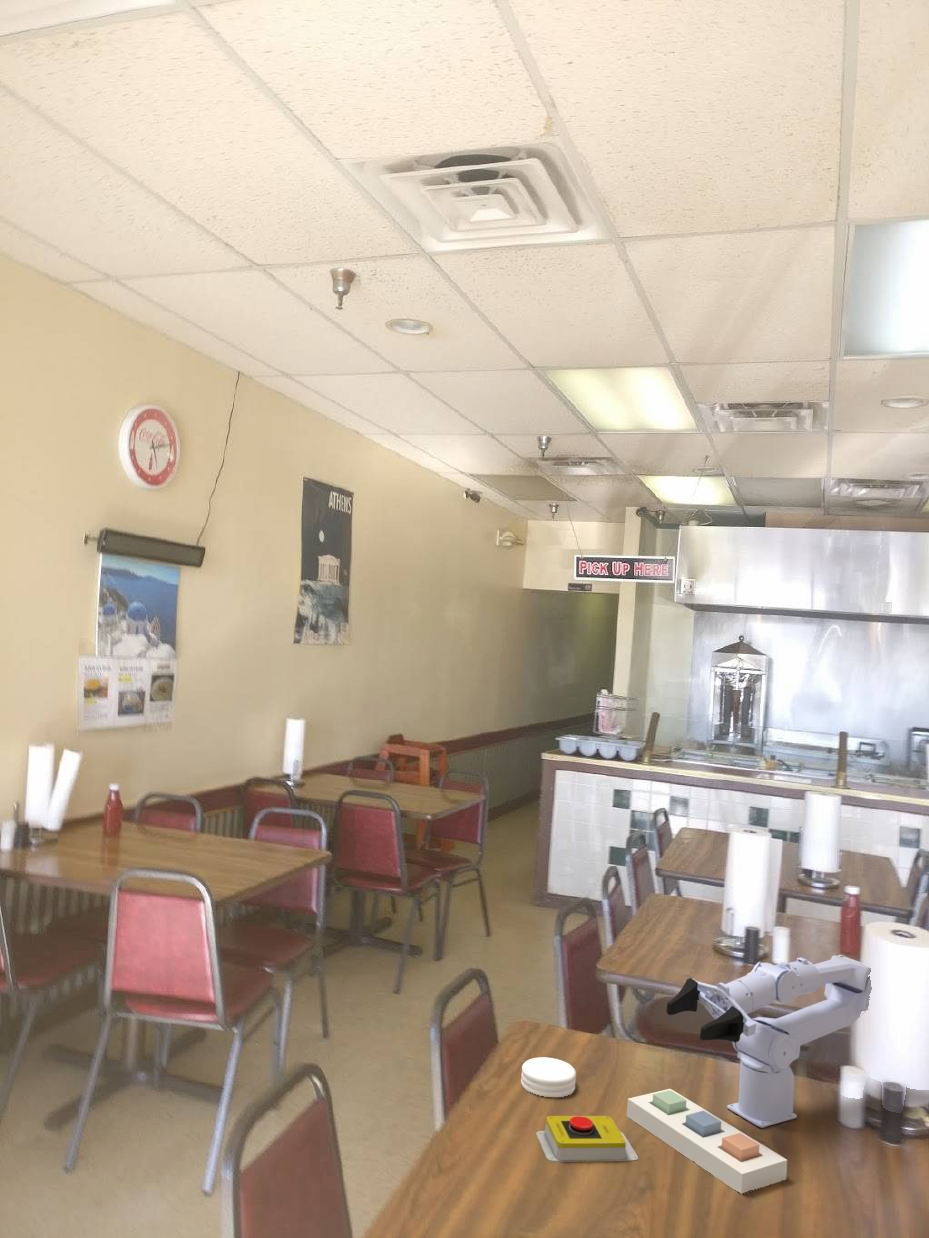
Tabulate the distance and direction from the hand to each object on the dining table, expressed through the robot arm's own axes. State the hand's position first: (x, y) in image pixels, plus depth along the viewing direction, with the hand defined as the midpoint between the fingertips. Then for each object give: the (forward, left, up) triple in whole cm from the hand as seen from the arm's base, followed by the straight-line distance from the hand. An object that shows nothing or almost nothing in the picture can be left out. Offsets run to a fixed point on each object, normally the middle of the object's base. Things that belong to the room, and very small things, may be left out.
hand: (684, 1021), depth 158 cm
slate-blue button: (-2, +3, -18) cm, 18 cm away
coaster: (+9, -25, -20) cm, 33 cm away
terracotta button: (-2, +11, -18) cm, 21 cm away
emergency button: (+16, -5, -20) cm, 26 cm away
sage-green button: (-2, -5, -18) cm, 19 cm away
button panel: (-2, +3, -19) cm, 20 cm away
